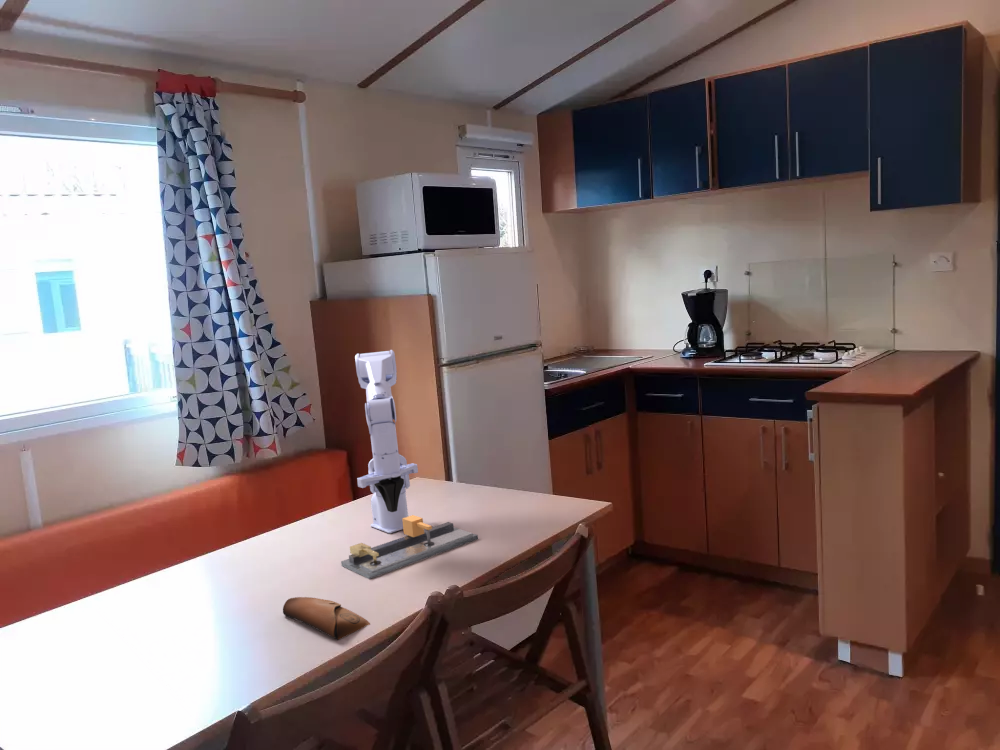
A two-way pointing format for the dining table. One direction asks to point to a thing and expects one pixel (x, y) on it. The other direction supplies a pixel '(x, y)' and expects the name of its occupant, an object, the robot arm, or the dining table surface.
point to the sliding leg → (415, 527)
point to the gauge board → (404, 550)
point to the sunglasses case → (324, 616)
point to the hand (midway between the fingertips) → (392, 510)
